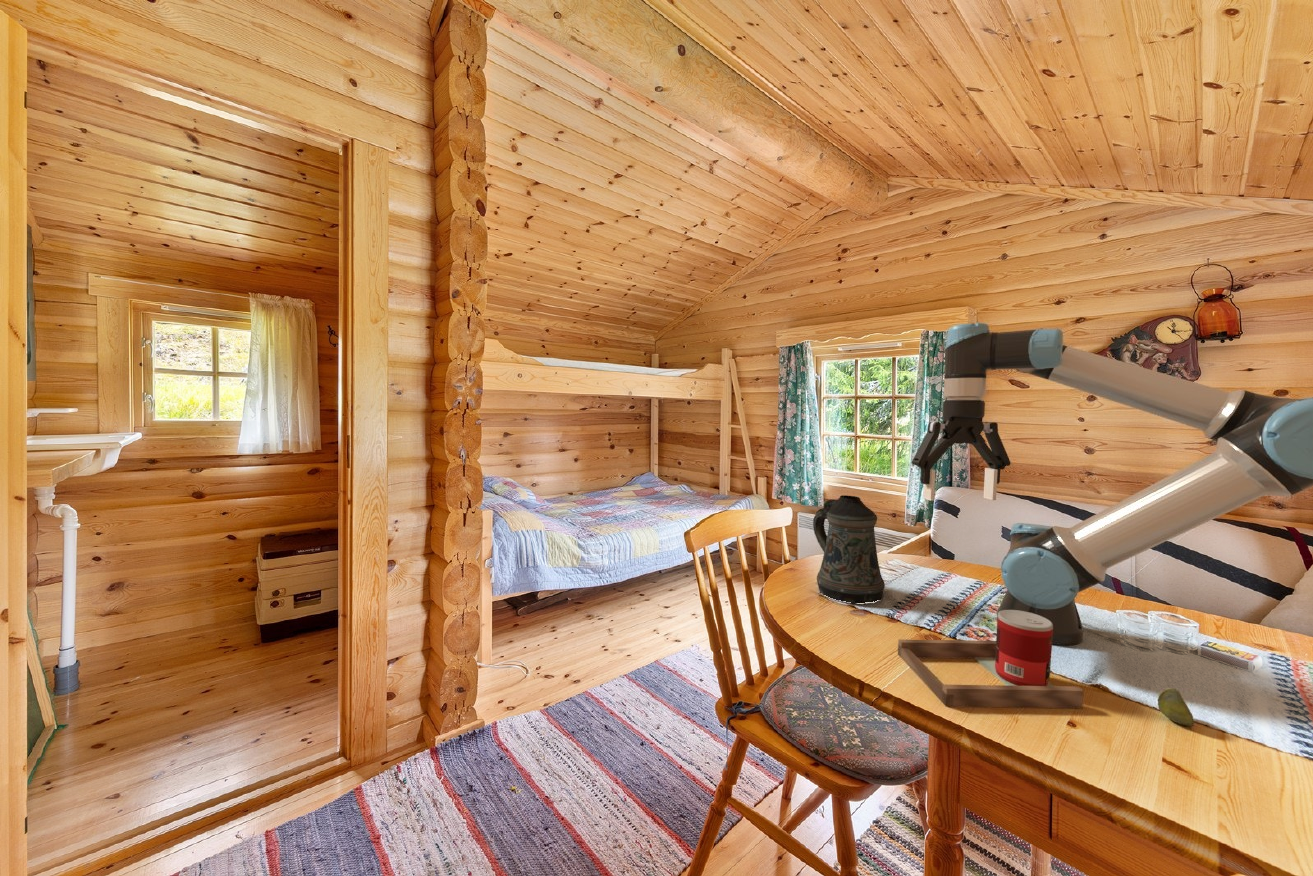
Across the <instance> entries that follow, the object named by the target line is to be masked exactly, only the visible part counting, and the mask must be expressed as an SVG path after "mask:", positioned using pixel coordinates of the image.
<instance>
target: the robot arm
mask: <svg viewBox="0 0 1313 876" xmlns="http://www.w3.org/2000/svg"><path fill="white" fill-rule="evenodd" d="M946 334H947V335H946V343H945V347H944V351H945V352H944V353H945V354H944V361H945V362H944V380H943V383H944V385H943V397H944V398H946V400H944V401H943V402H942V417H943V422H942V423H940V422H938V421H930V422H928V424H927V430H926V434H925V436H924V438H923V439H922V441H921V443H920V445H919V447H918V448H917V451H916V453H915V454H914V456H913V459H912V460H911V465H913V466H916V467H918V468H920V479H919V480H920V483H921V484H923V489H922V498H923V500H927V501H930V502H933V501H935V491H936V490H935V489H936V488H935V486H936V469H934V468H933V467H934V466H935V464H936V463H938V461H940V459H941V458H942V457H943V456H944V454H945V453H947V451H948V449H949V448H950V447H951V446H953V445H954V444H956V445H957V444H958V445H960V444H969V445H972V446H973V447H974V449H975V450H976V451H977V452H978V454H979V455H980V457H981V458H982V459H983V460H984V462H985V463H986V465H988V467H984V478H983V479H984V483H983V499H987V500H989V501H996V500H997V490H998V489H997V485H999V484H1000V481H1001V470H1004V469H1005V468H1006V467H1010V465H1011V464H1012V463H1011V460H1010V458H1009V457H1010V456H1008V453H1007V451H1006V449H1005V446H1004V444H1003V441H1002V439H1001V436H1000V434H999V426H998V423H997V422H994V421H993V422H991V421H986V422H983V418H984V417H985V415H986V409H985V408H986V402H985V400H983V398H986V397H987V395H986V394H987V372H988V371H990V370H992V371H996V370H998V371H999V370H1015V371H1017V372H1020V373H1022V374H1028V375H1032V376H1034V377H1037V378H1041V379H1044V380H1047V381H1051V382H1054V383H1057V384H1061V385H1062V386H1066V387H1068V388H1069V387H1070V388H1072V389H1076V390H1079V391H1082V392H1085V393H1087V394H1091V395H1094V396H1097V397H1100V398H1103V399H1105V400H1109V401H1111V402H1115V403H1118V404H1122V405H1124V406H1126V407H1130V408H1133V409H1136V410H1139V411H1143V412H1145V413H1149V414H1151V415H1154V416H1158V417H1161V418H1165V419H1167V420H1170V421H1171V422H1172V421H1173V422H1175V423H1179V424H1181V425H1185V426H1188V427H1192V428H1194V429H1197V430H1201V432H1202V433H1203V435H1204V437H1205V438H1207V439H1209V440H1212V441H1215V442H1216V448H1215V450H1214V452H1212V453H1210V454H1208V455H1207V456H1204V457H1203V458H1200V459H1199V460H1196V461H1195V462H1193V463H1191V464H1189V465H1187V466H1185V467H1183V468H1182V469H1180V470H1178V471H1176V472H1174V473H1171V474H1170V475H1168V476H1165V478H1162V479H1160V480H1158V481H1157V482H1155V483H1153V484H1151V485H1149V486H1147V487H1146V488H1143V489H1141V490H1140V491H1137V492H1135V493H1134V494H1131V495H1130V496H1128V497H1126V498H1124V499H1123V500H1120V501H1119V502H1117V503H1115V504H1113V505H1111V506H1109V507H1107V508H1105V509H1104V510H1102V511H1099V512H1098V513H1096V514H1094V515H1092V516H1090V517H1088V518H1086V519H1084V520H1082V521H1081V522H1079V523H1077V524H1075V525H1073V526H1071V527H1062V526H1058V525H1054V526H1051V525H1044V524H1036V523H1024V522H1017V523H1014V524H1013V525H1012V526H1011V531H1010V532H1009V537H1010V544H1009V549H1008V552H1007V554H1006V555H1005V556H1004V558H1002V559H1003V560H1002V562H1001V567H1000V571H1001V578H1002V582H1003V584H1004V586H1005V588H1006V592H1005V593H1004V596H1003V598H1002V601H1001V602H1000V606H998V609H997V610H996V619H997V618H998V612H1000V611H1002V610H1019V611H1025V612H1029V613H1033V614H1036V615H1039V616H1042V617H1044V618H1046V619H1048V620H1049V621H1051V622H1052V624H1053V638H1052V645H1060V646H1073V645H1079V644H1080V643H1082V642H1083V641H1084V627H1083V624H1082V620H1081V617H1080V614H1079V610H1078V607H1077V604H1076V597H1077V596H1078V594H1079V593H1081V592H1083V591H1085V590H1088V589H1089V588H1091V587H1093V586H1096V585H1099V584H1100V583H1102V582H1104V581H1105V579H1106V573H1107V571H1108V569H1110V568H1111V567H1113V566H1115V565H1119V564H1120V563H1122V562H1124V561H1126V560H1129V559H1131V558H1133V557H1135V556H1137V555H1140V554H1142V553H1144V552H1146V551H1148V550H1150V549H1153V548H1155V547H1157V546H1159V545H1162V544H1163V543H1165V542H1167V541H1169V540H1172V539H1174V538H1176V537H1178V536H1180V535H1183V534H1185V533H1187V532H1189V531H1191V530H1193V529H1195V528H1197V527H1199V526H1201V525H1203V524H1206V523H1208V522H1210V521H1212V520H1214V519H1217V518H1219V517H1221V516H1224V515H1226V514H1227V513H1229V512H1233V511H1234V510H1236V509H1238V508H1240V507H1242V506H1244V505H1246V504H1249V503H1251V502H1253V501H1255V500H1257V499H1258V500H1259V499H1260V498H1262V497H1264V496H1278V497H1285V498H1287V497H1288V498H1289V497H1291V496H1293V495H1296V494H1297V493H1300V492H1303V491H1305V490H1307V489H1310V488H1311V487H1313V397H1307V398H1305V397H1304V398H1289V397H1287V398H1286V397H1277V396H1271V395H1265V394H1260V393H1256V392H1252V391H1248V390H1245V389H1237V390H1233V391H1225V390H1224V389H1223V390H1222V389H1220V388H1216V387H1212V386H1208V385H1205V384H1202V383H1199V382H1194V381H1191V380H1187V379H1185V378H1182V377H1181V378H1180V377H1176V376H1173V375H1169V374H1167V373H1163V372H1159V371H1156V370H1153V369H1149V368H1146V367H1141V366H1139V365H1134V364H1131V363H1128V362H1125V361H1120V360H1117V359H1115V358H1111V357H1107V356H1103V355H1100V354H1096V353H1093V352H1090V351H1087V350H1083V349H1079V348H1075V347H1073V346H1069V345H1065V344H1064V343H1063V341H1064V332H1063V331H1062V330H1061V329H1060V328H1044V327H1043V328H1037V329H1026V330H1013V331H1002V332H998V331H997V332H993V331H990V327H989V324H987V323H984V322H973V323H972V322H969V323H960V324H959V323H958V324H955V325H952V326H951V327H949V329H947V333H946ZM941 432H943V434H942V435H941V437H940V438H939V436H940V433H941ZM982 432H983V433H984V436H985V438H986V439H985V438H984V437H983V436H982ZM938 438H939V439H938ZM937 440H938V442H937ZM986 440H987V443H986ZM936 442H937V443H936ZM935 444H936V445H935Z"/></svg>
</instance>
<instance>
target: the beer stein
mask: <svg viewBox="0 0 1313 876" xmlns="http://www.w3.org/2000/svg"><path fill="white" fill-rule="evenodd" d="M826 520H827V522H828V530H827V533H826V529H825V521H826ZM877 521H878V516H877V515H876V513H875V512H874V511H873V510H872V509H871V508H870V507H868V506H866V505H865V504H864V502H863V501H862V500H861V498H860V497H859V496H855V495H844V494H843V495H839V497H838V498H837V499H827V500H826V501H825V502H824V503H823V508H819V509H818V510H817V511H816V512H815V515H814V517H813V521H812V528H813V533H814V535H815V539H816V541H817V543H818V545H819V547H820V548H821V549H822V551H823V556H822V561H821V563H820V564H821V565H820V568H819V571H818V572H817V575H816V583H817V587H818V591H820V592H821V593H822V594H823V595H822V594H821V593H820V592H819V593H820V594H821V595H822V596H824V595H826V596H828V597H830V598H833V599H836V600H841V601H846V602H851V603H865V602H873V601H874V602H875V601H877V600H881V599H882V598H883V597H884V590H885V587H886V584H885V581H884V579H883V577H882V574H881V569H880V564H879V558H878V551H877V544H876V535H875V526H876V524H877ZM826 596H825V597H826ZM828 597H827V598H828ZM830 598H829V599H830ZM833 599H832V600H833ZM836 600H835V601H836ZM881 601H882V600H881Z"/></svg>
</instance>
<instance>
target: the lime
mask: <svg viewBox="0 0 1313 876" xmlns="http://www.w3.org/2000/svg"><path fill="white" fill-rule="evenodd" d="M1157 705H1158V710H1159V711H1160V712H1161V714H1163V715H1164V717H1166V718H1168V719H1169V720H1171V721H1172V722H1175V723H1177V724H1179V723H1180V724H1179V725H1181V724H1182V725H1181V726H1184V725H1186V727H1193V726H1195V720H1194V716H1193V714H1192V712H1191V710H1190V709H1189V707H1188V704H1187V703H1186V701H1185V700H1184V698H1183V696H1182V694H1181V692H1180V691H1179V690H1178V689H1177V688H1167V689H1166V688H1165V689H1164V690H1162V691H1161V692H1160V694H1159V695H1158V698H1157Z"/></svg>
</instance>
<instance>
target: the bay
mask: <svg viewBox="0 0 1313 876" xmlns="http://www.w3.org/2000/svg"><path fill="white" fill-rule="evenodd" d="M897 642H898V643H897V644H898V645H897V655H898V656H899V657H900V658H901V659H902V660H903V661H904V663H905V664H906V665H907V666H908V667H909V668H910V670H912V671H913V672H914V673H915V675H917V677H918V678H919V679H920V680H921V681H922V682H923V683H924V685H926V686H927V687H928V688H929V690H930V691H931V692H932V693H933V694H934V695H935V696H936V698H938V699H939V701H940V702H941V703H942V704H943V705H944V706H945V707H960V708H961V707H963V708H964V707H965V708H966V707H967V708H968V707H969V708H970V707H971V708H975V707H976V708H982V707H983V708H1019V709H1020V708H1026V709H1027V708H1028V709H1029V708H1030V709H1032V708H1034V709H1035V708H1036V709H1081V710H1082V709H1083V704H1084V694H1085V693H1084V690H1083V689H1082V688H1081V687H1079V686H1064V685H1063V686H1060V685H1059V686H1057V685H1053V684H1052V683H1051V682H1049V683H1048V685H1047V686H1018V685H1015V684H1013V683H1010V682H1008V681H1006V680H1004V679H1003V678H1001V677H1000V676H999V675H998V674H997V672H996V669H995V654H996V640H967V639H966V640H965V639H964V640H963V639H962V640H959V639H957V640H956V639H955V640H954V639H949V640H948V639H900V638H899V639H898V641H897ZM920 658H921V659H923V658H925V659H926V658H927V659H932V658H934V659H935V658H936V659H974V660H975V662H977V663H978V664H979V665H981V666H982V667H983V668H985V670H987V671H988V672H989V673H990V674H991V675H993V676H994V677H996V678H997V680H999V682H1002V685H1000V684H999V685H998V684H944V683H943V682H942V681H941V679H939V678H938V677H937V676H936V675H935V674H934V673H933V672H932V671H931V670H930V669H929V668H928V667H927V666H926V665H925V664H924V662H922V661H921V659H920ZM1003 684H1004V685H1003Z"/></svg>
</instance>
